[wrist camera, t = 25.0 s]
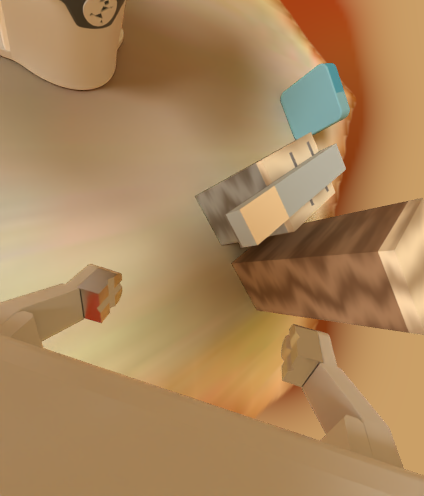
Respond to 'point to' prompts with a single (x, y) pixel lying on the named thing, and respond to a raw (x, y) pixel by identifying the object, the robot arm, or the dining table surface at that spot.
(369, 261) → the tall stand
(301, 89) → the data package
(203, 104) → the dining table surface
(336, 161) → the sanding stick
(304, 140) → the grey marbled block
